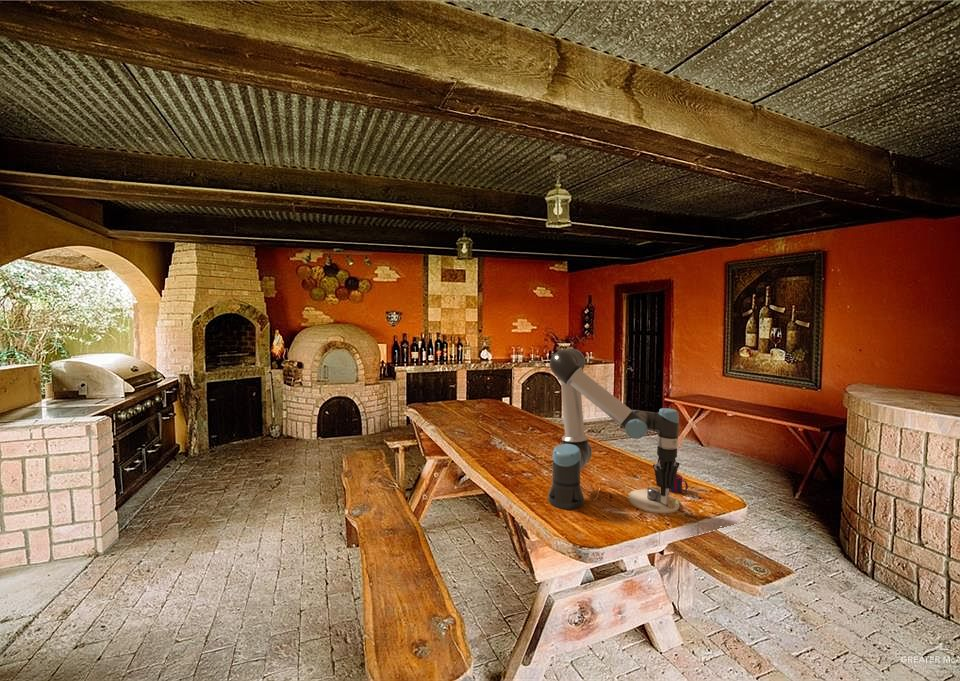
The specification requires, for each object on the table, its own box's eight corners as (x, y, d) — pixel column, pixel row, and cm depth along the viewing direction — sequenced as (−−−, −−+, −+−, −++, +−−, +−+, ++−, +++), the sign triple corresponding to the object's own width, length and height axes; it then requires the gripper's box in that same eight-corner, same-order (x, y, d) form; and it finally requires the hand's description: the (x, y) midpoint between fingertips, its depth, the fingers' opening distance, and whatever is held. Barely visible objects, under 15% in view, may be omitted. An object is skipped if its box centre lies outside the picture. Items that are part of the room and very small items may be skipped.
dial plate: (627, 508, 174) (627, 504, 174) (629, 489, 192) (629, 486, 192) (680, 517, 166) (681, 513, 166) (677, 496, 185) (677, 493, 185)
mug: (673, 486, 196) (674, 472, 196) (691, 494, 187) (691, 480, 187) (662, 488, 194) (662, 474, 193) (679, 497, 185) (680, 482, 184)
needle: (644, 497, 180) (644, 487, 180) (652, 495, 183) (653, 485, 182) (669, 509, 169) (669, 499, 169) (677, 506, 171) (677, 496, 171)
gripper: (663, 451, 165) (660, 509, 166) (686, 447, 170) (683, 504, 172) (648, 445, 172) (645, 501, 173) (671, 442, 177) (668, 497, 178)
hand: (664, 503), depth 172 cm, fingers closed
